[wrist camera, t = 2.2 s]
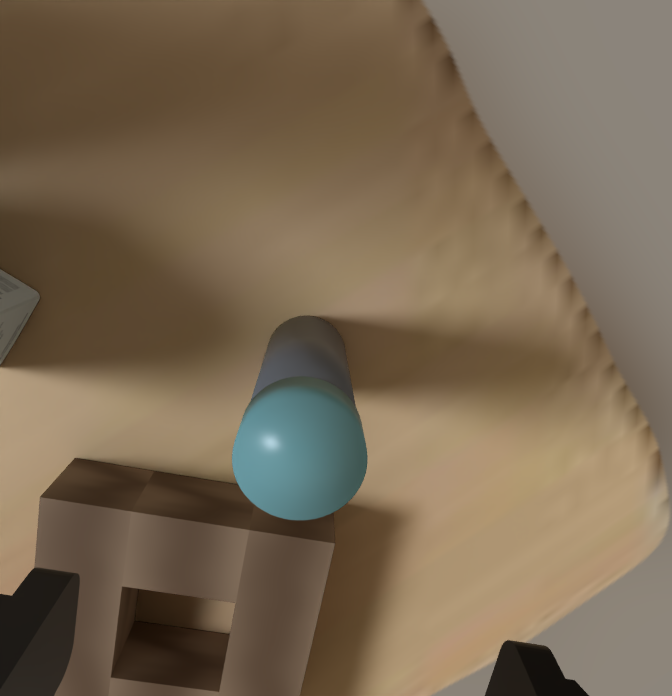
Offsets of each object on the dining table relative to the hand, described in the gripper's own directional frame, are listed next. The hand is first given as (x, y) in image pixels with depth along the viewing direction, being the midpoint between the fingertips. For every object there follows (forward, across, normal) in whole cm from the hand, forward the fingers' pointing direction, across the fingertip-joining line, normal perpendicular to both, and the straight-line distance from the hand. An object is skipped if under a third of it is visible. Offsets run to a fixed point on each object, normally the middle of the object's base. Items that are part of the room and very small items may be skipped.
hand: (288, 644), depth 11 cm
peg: (+19, 0, 0) cm, 19 cm away
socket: (+19, +4, +15) cm, 25 cm away
